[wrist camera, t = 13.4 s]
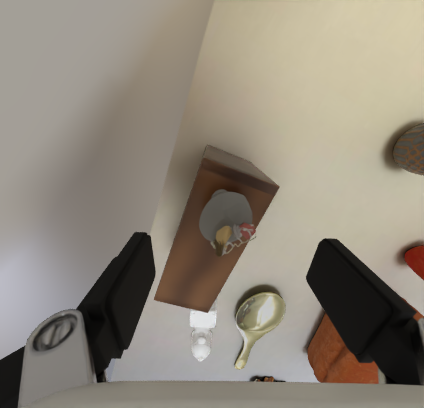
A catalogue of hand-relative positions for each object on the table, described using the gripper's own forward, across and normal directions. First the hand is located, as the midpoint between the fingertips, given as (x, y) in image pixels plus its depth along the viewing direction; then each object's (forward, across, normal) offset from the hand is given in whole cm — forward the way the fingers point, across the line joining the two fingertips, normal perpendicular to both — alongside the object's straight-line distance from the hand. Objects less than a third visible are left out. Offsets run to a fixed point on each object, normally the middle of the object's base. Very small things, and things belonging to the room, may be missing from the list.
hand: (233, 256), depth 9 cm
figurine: (+7, 0, +1) cm, 7 cm away
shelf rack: (+18, +2, +6) cm, 19 cm away
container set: (+18, +2, +35) cm, 39 cm away
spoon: (+18, -10, +41) cm, 46 cm away
